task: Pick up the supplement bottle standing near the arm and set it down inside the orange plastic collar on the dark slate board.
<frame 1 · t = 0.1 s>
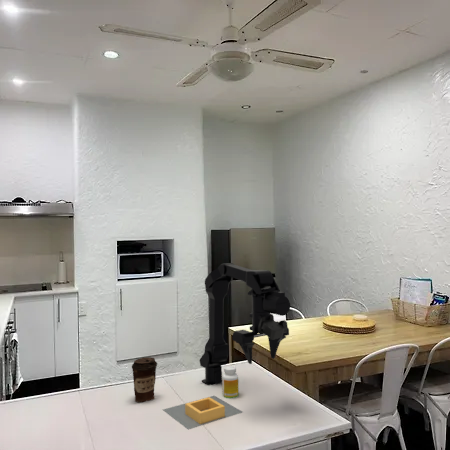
hand: (261, 360, 129), 15 cm above the kitchen counter, tool pointing down, fingers open, 9 cm apart
supplement bottle: (230, 397, 138), on the kitchen counter
slate board: (202, 412, 126), on the kitchen counter
coffee cup: (144, 400, 137), on the kitchen counter
orange collar: (204, 415, 123), resting on slate board
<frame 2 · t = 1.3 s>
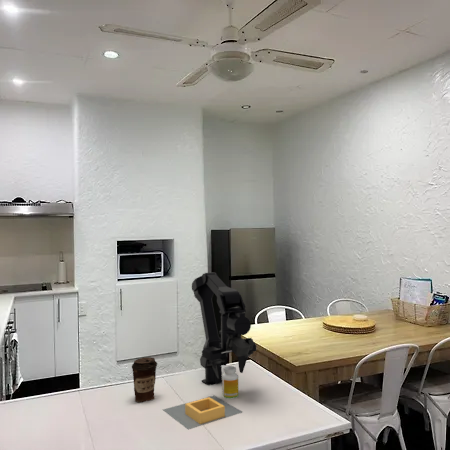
hand: (230, 375, 138), 7 cm above the kitchen counter, tool pointing down, fingers open, 9 cm apart
nothing on the kitchen counter moved.
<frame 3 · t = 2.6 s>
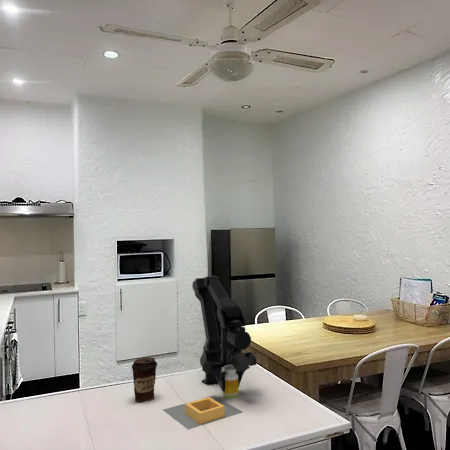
hand: (230, 389, 138), 3 cm above the kitchen counter, tool pointing down, fingers closed on supplement bottle, 5 cm apart
supplement bottle: (230, 397, 138), on the kitchen counter, touching gripper
everything else where it was.
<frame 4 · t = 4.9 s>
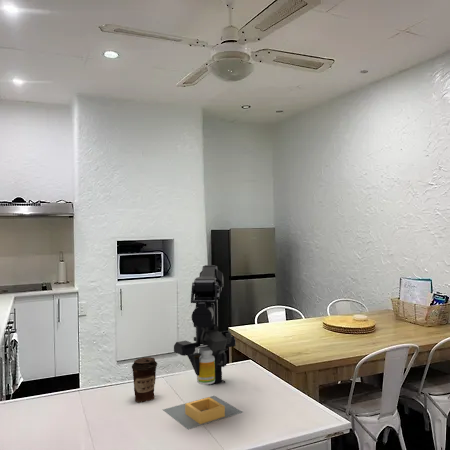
hand: (205, 373, 124), 13 cm above the kitchen counter, tool pointing down, fingers closed on supplement bottle, 5 cm apart
supplement bottle: (206, 382, 123), point 10 cm above the kitchen counter, touching gripper
everything else where it was.
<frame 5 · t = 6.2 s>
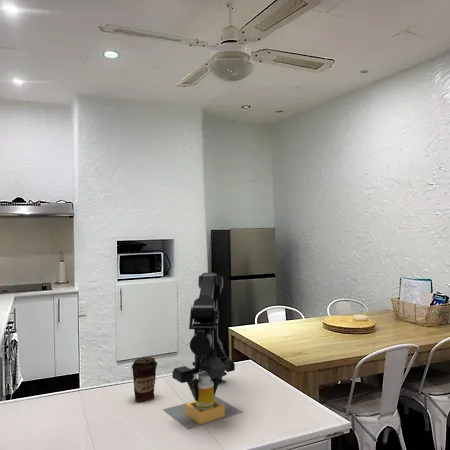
hand: (204, 398, 123), 5 cm above the kitchen counter, tool pointing down, fingers closed on supplement bottle, 5 cm apart
supplement bottle: (205, 407, 123), point 3 cm above the kitchen counter, touching gripper
everything else where it was.
when the fingers open (4 cm above the kitchen counter, at t = 7.3 s): supplement bottle drops 1 cm, resting on slate board.
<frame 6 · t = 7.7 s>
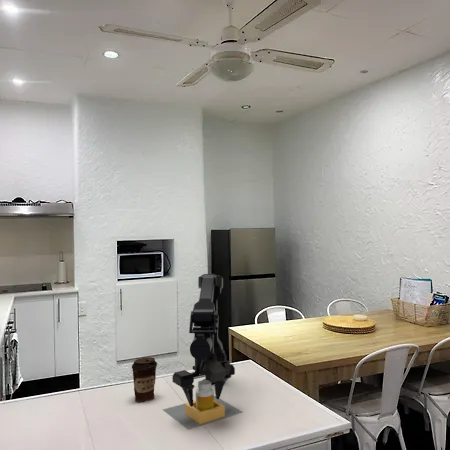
hand: (204, 402, 123), 4 cm above the kitchen counter, tool pointing down, fingers open, 9 cm apart
supplement bottle: (204, 415, 123), resting on slate board
everything else where it was.
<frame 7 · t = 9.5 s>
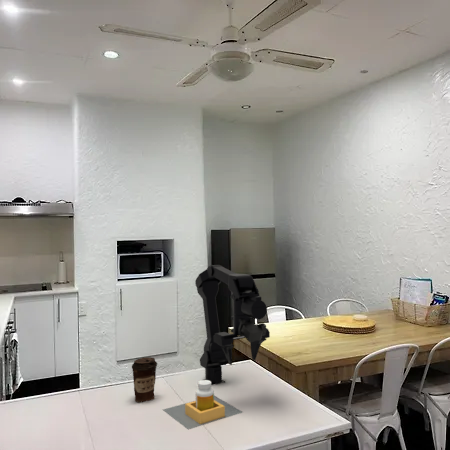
hand: (242, 362, 134), 13 cm above the kitchen counter, tool pointing down, fingers open, 9 cm apart
nothing on the kitchen counter moved.
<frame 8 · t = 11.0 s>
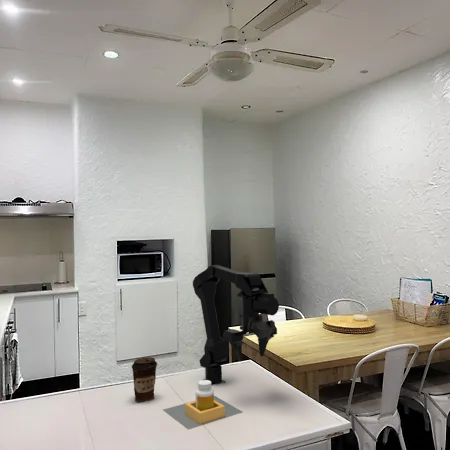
hand: (251, 358, 137), 13 cm above the kitchen counter, tool pointing down, fingers open, 9 cm apart
nothing on the kitchen counter moved.
at the end: supplement bottle 0.0 cm off-centre on the orange collar, point 0.0 cm above the orange collar's base; supplement bottle tilted 0°; the gripper is holding nothing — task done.
